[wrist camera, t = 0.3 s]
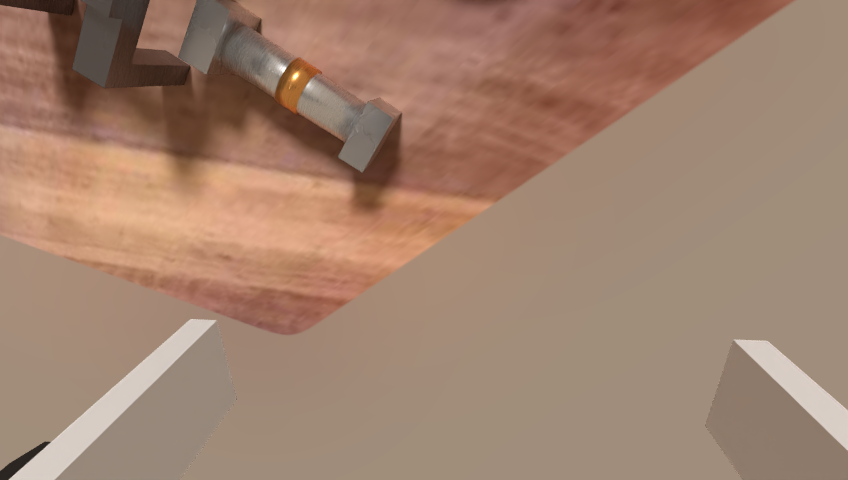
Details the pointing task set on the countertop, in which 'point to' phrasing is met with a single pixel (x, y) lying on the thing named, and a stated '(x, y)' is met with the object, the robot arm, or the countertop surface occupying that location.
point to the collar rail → (114, 44)
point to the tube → (285, 78)
